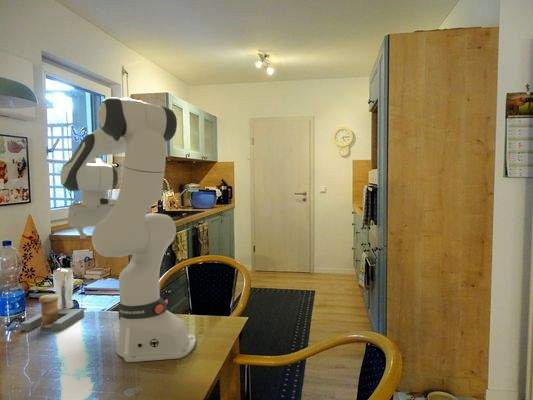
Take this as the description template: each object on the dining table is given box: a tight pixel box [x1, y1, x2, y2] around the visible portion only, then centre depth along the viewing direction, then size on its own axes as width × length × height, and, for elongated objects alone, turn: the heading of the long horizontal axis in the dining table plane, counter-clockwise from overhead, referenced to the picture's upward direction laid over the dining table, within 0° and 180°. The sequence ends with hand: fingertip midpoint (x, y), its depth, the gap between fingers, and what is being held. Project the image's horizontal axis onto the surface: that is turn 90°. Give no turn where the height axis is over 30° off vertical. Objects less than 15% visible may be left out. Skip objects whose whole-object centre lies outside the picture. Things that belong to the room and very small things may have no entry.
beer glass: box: [52, 267, 75, 309], centre depth 153 cm, size 7×7×15 cm
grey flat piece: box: [20, 308, 85, 332], centre depth 137 cm, size 14×14×2 cm
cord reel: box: [38, 293, 59, 329], centre depth 135 cm, size 6×6×10 cm
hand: (94, 238), depth 147 cm, fingers open, 8 cm apart
